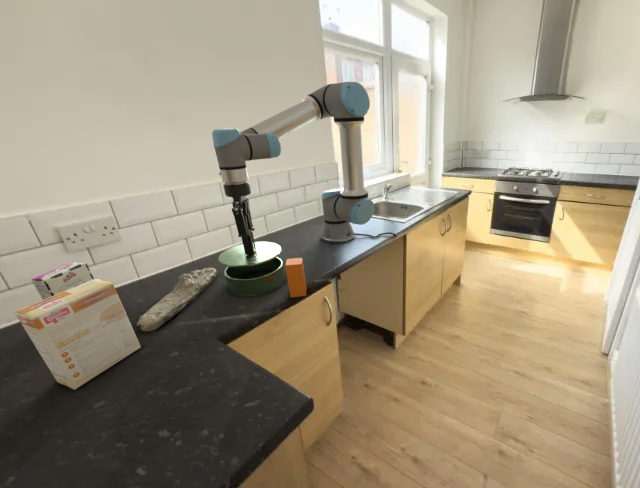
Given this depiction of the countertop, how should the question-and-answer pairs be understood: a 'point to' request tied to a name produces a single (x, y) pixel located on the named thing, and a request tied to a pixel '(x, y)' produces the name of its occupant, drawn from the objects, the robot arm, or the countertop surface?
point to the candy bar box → (62, 279)
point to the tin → (255, 284)
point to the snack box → (296, 277)
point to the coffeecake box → (80, 331)
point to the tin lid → (239, 259)
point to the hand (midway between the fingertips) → (250, 251)
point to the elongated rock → (177, 298)
